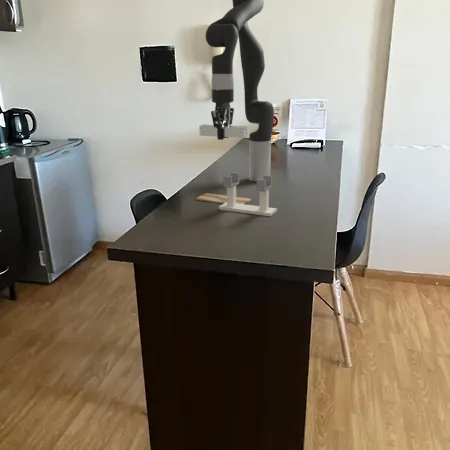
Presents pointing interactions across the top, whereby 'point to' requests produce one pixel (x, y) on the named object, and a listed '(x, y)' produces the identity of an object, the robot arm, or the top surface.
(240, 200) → the mat
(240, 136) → the rail
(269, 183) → the rail stand
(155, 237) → the top surface
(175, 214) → the top surface
